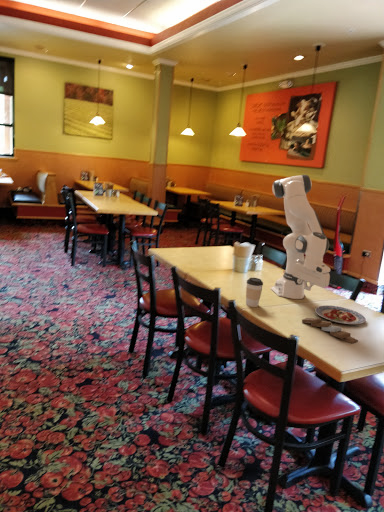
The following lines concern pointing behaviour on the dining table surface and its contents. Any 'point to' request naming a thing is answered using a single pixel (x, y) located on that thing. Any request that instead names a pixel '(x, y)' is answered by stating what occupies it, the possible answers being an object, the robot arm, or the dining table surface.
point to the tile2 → (321, 324)
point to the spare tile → (332, 328)
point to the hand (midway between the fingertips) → (307, 289)
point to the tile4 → (340, 334)
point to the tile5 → (349, 339)
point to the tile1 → (311, 320)
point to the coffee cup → (253, 291)
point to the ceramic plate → (340, 314)
